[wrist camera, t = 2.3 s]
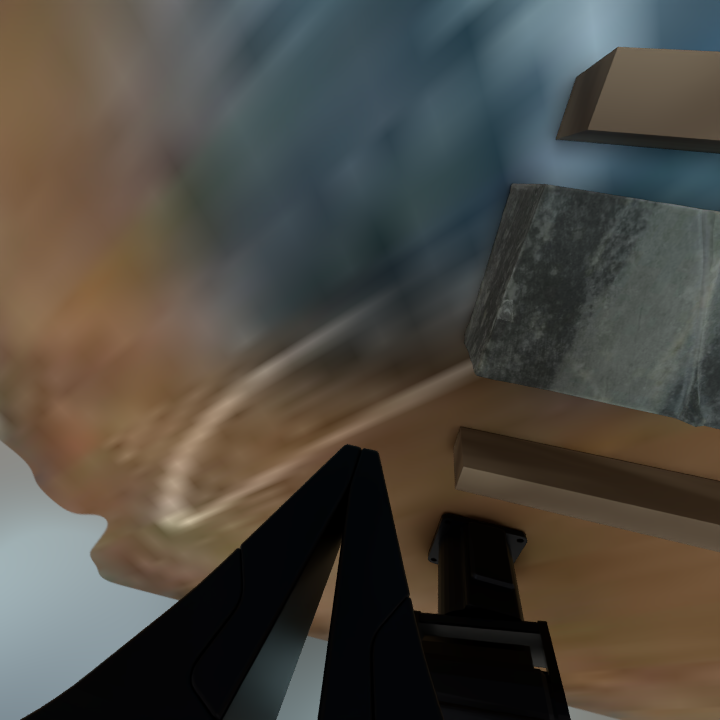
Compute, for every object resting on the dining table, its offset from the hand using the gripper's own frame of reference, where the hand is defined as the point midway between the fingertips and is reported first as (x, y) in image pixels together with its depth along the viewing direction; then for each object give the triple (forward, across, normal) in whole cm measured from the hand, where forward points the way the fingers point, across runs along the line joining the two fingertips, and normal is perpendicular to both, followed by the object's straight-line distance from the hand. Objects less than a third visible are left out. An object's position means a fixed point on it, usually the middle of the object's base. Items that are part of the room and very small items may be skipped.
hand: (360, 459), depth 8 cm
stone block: (+12, -11, -2) cm, 17 cm away
